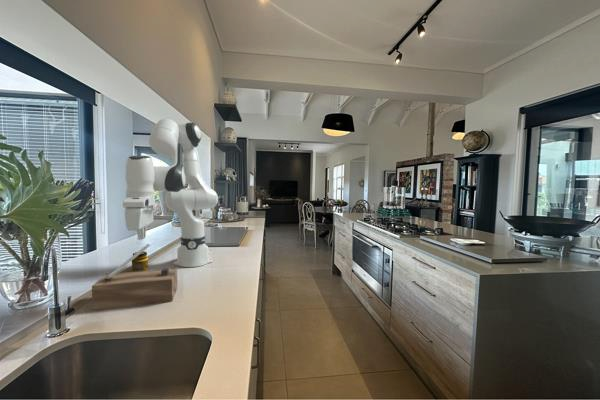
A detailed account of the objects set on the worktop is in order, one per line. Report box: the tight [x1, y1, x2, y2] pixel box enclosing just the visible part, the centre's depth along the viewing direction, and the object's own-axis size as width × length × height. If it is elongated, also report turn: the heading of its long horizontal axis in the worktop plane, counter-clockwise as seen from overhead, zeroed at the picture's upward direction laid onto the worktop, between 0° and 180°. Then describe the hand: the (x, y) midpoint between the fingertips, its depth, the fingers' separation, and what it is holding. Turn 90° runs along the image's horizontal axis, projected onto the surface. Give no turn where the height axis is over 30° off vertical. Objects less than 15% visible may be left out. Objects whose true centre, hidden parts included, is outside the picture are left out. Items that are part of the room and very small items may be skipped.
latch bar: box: [105, 243, 151, 280], centre depth 95 cm, size 4×17×1 cm
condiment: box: [131, 250, 149, 272], centre depth 113 cm, size 7×8×12 cm
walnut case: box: [91, 267, 178, 310], centre depth 97 cm, size 12×24×10 cm, turn 107°
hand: (141, 238), depth 96 cm, fingers closed
